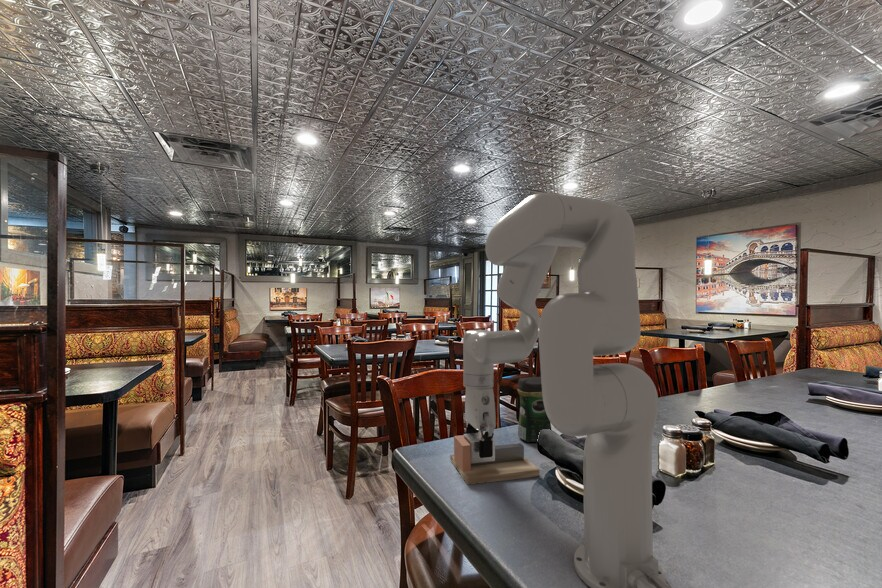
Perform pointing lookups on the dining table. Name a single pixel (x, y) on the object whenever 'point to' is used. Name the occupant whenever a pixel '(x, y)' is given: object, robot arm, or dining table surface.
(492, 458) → the saddle block
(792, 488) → the dining table surface
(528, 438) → the coffee jar
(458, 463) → the stop
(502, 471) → the board
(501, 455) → the rail
